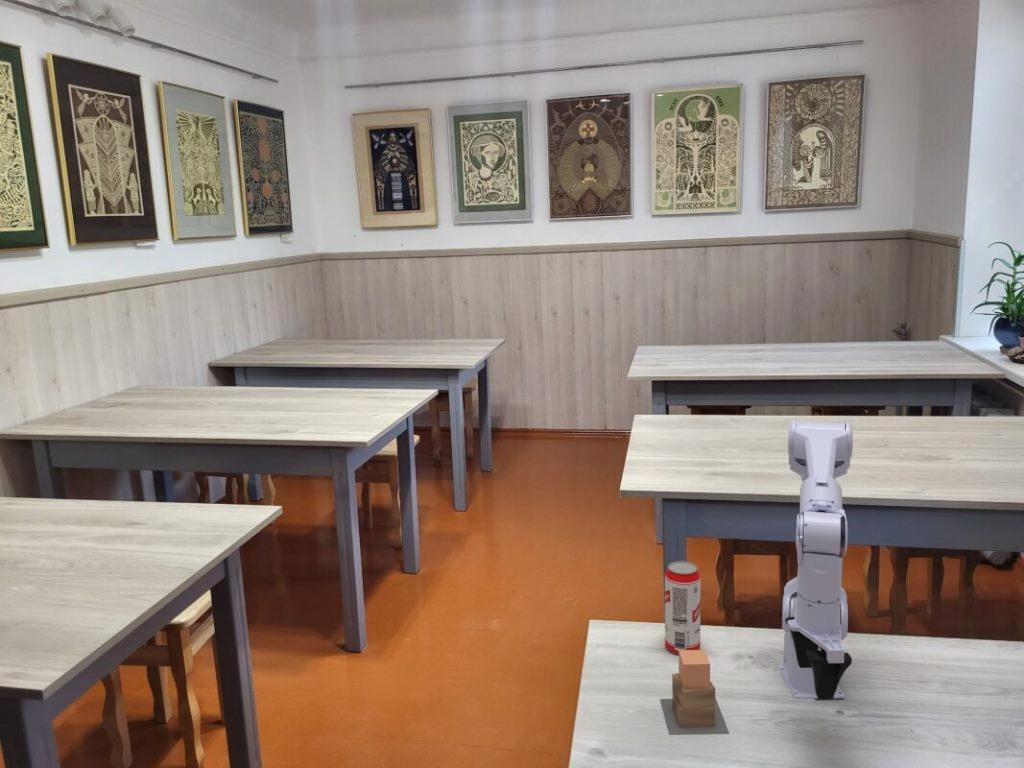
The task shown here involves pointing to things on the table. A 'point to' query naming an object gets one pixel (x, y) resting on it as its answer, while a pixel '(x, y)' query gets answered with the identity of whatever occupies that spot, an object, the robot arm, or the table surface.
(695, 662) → the cube
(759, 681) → the table surface
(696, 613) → the beer can
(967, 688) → the table surface
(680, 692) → the slab top
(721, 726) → the mat
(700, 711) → the slab bottom
